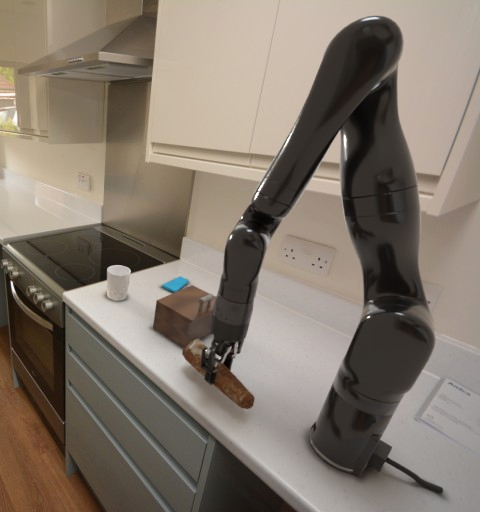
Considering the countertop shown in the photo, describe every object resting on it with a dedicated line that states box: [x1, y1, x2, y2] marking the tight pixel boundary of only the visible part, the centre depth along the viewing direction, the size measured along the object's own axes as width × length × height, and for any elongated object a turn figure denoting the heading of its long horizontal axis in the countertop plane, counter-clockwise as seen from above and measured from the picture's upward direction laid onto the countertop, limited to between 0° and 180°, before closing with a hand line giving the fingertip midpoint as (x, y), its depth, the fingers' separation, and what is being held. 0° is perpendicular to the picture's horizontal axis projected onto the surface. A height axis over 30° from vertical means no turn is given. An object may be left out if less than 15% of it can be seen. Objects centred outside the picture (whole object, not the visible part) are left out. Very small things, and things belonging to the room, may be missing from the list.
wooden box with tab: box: [155, 284, 217, 323], centre depth 97 cm, size 12×17×4 cm
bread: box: [181, 339, 256, 410], centre depth 77 cm, size 6×19×6 cm, turn 24°
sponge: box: [161, 276, 190, 293], centre depth 126 cm, size 2×12×6 cm
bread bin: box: [152, 302, 213, 350], centre depth 100 cm, size 12×17×9 cm
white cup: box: [106, 264, 132, 302], centre depth 115 cm, size 8×8×10 cm
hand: (217, 375), depth 78 cm, fingers closed on bread, 6 cm apart
